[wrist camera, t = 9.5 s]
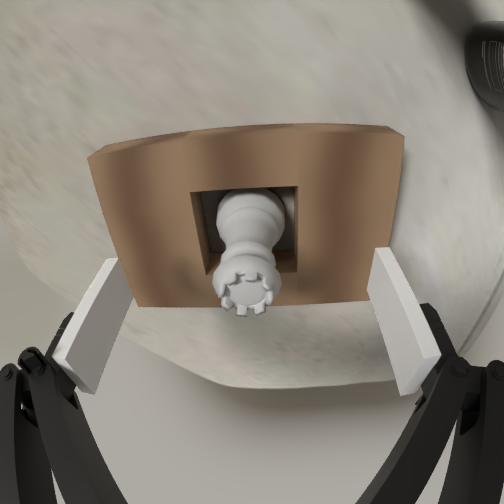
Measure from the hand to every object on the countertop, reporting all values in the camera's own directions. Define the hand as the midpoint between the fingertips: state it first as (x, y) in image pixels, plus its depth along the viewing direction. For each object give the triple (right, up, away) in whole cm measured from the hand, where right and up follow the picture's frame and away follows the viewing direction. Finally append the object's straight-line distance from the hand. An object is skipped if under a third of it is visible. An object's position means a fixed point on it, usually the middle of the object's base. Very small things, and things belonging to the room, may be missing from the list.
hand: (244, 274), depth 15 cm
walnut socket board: (0, +4, +5) cm, 6 cm away
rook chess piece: (0, +4, +5) cm, 6 cm away
